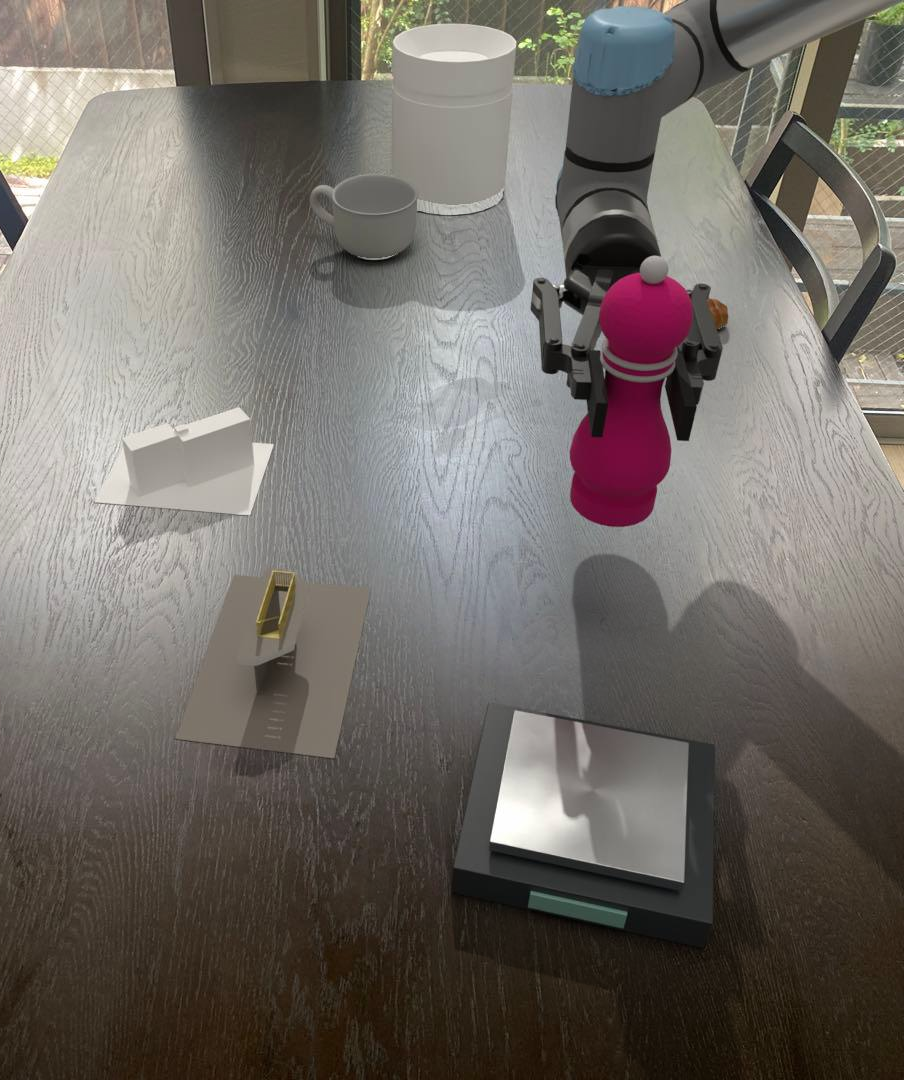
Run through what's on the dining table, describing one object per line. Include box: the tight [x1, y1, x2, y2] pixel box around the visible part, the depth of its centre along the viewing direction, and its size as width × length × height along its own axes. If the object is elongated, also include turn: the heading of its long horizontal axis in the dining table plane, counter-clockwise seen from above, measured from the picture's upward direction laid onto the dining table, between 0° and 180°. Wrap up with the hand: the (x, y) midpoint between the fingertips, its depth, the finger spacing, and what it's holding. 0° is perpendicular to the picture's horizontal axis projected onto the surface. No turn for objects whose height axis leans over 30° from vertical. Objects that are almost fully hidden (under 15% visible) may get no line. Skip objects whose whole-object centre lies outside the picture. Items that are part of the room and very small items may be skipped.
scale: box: [450, 702, 716, 949], centre depth 73 cm, size 16×14×3 cm
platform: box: [174, 567, 372, 759], centre depth 84 cm, size 12×18×7 cm, turn 171°
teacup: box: [309, 173, 418, 258], centre depth 137 cm, size 14×11×8 cm
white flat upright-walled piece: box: [94, 406, 275, 516], centre depth 102 cm, size 15×11×6 cm
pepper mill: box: [569, 256, 693, 528], centre depth 75 cm, size 7×7×20 cm
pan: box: [489, 710, 689, 891], centre depth 71 cm, size 12×11×1 cm
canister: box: [390, 23, 518, 205], centre depth 146 cm, size 16×16×20 cm
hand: (643, 421), depth 70 cm, fingers closed on pepper mill, 5 cm apart
